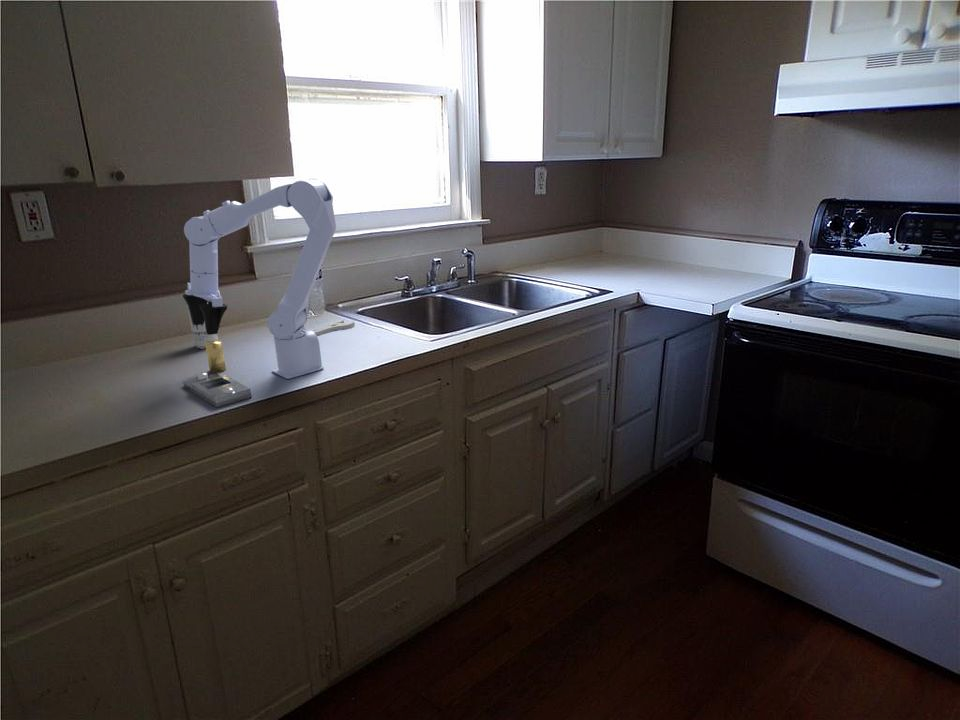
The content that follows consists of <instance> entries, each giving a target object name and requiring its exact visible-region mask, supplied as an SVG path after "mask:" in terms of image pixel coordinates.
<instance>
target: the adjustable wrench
mask: <svg viewBox="0 0 960 720" xmlns="http://www.w3.org/2000/svg"><path fill="white" fill-rule="evenodd" d="M354 327H355V321H354V320H351V321H349V322H345V320H344V319H340V320H335V321H332V322H331V321H330V322H328V324H327V325H326V326H323V327H319V328H316V329H313V330H312V329H311V331H313V332H314V333H315V334H316V336H317V337H318V336H321V335H324V334H328V333H331V332H336V331H342V330H348V329H351V328H354Z"/></svg>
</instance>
